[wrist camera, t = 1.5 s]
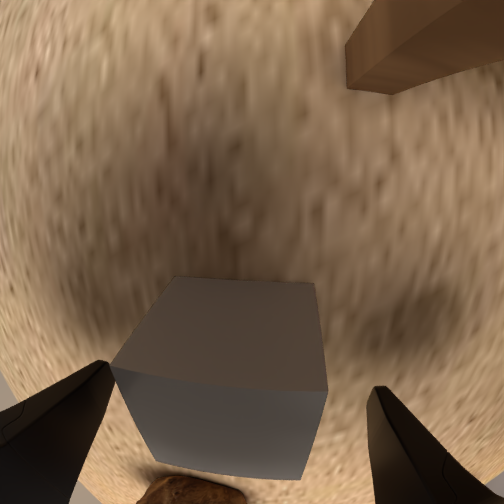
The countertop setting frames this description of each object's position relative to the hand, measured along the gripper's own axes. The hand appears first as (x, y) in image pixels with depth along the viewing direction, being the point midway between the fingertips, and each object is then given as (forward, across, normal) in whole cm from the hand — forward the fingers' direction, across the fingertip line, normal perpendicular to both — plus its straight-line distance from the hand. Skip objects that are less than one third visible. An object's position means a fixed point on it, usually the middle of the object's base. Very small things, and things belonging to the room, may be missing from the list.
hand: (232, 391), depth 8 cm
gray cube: (+3, 0, 0) cm, 3 cm away
